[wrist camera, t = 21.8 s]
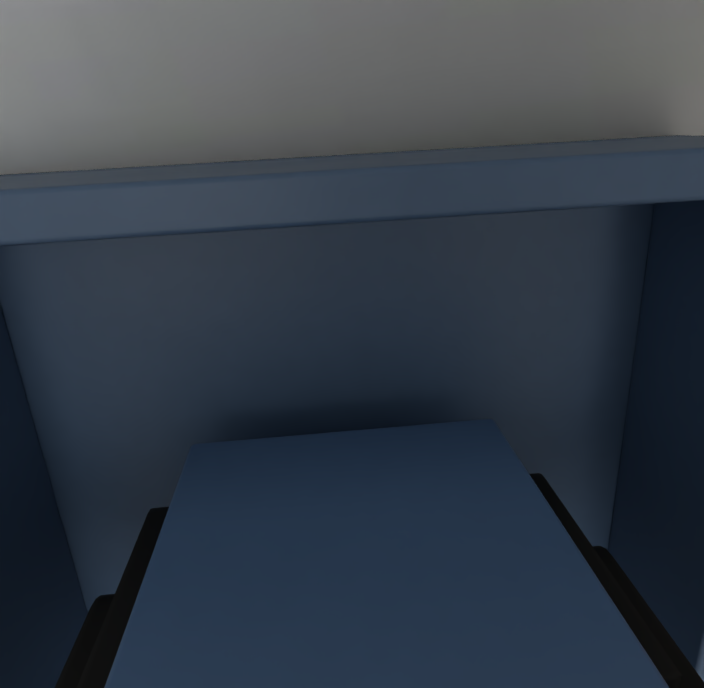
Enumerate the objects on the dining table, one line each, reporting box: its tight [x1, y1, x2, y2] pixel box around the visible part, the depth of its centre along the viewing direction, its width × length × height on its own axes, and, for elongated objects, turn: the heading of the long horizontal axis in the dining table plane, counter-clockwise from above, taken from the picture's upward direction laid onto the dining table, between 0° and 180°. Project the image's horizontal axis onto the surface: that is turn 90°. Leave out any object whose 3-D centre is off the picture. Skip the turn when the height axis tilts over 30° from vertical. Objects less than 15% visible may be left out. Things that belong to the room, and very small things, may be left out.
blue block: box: [104, 419, 669, 688], centre depth 8 cm, size 5×5×5 cm
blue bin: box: [0, 135, 704, 688], centre depth 10 cm, size 13×12×4 cm
